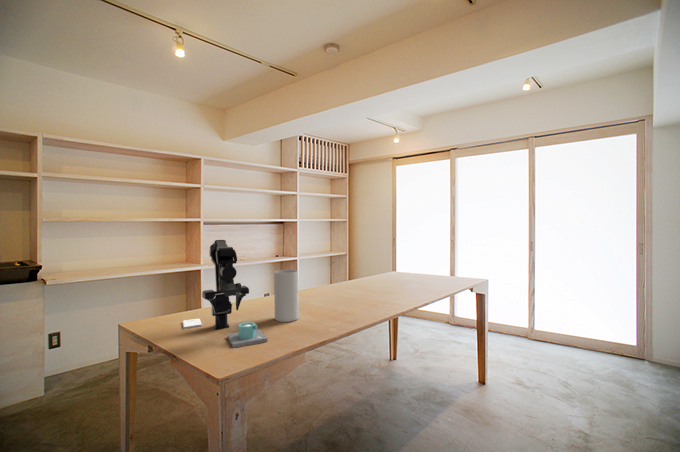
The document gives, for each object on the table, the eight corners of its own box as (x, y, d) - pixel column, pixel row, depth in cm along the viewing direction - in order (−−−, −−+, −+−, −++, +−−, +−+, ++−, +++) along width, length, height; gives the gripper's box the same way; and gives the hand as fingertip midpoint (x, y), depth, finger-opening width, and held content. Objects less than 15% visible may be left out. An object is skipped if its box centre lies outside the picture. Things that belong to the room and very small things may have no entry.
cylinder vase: (294, 323, 167) (293, 273, 167) (270, 322, 169) (270, 272, 169) (302, 316, 179) (301, 269, 179) (280, 315, 182) (279, 269, 181)
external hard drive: (183, 330, 160) (182, 323, 171) (202, 327, 164) (199, 321, 175) (183, 327, 160) (182, 320, 171) (202, 324, 164) (199, 318, 175)
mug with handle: (235, 338, 142) (235, 326, 142) (244, 332, 148) (244, 321, 148) (252, 339, 139) (251, 327, 139) (261, 334, 146) (260, 323, 146)
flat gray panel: (227, 337, 147) (227, 324, 147) (259, 332, 153) (259, 319, 153) (233, 347, 135) (232, 333, 134) (267, 341, 141) (267, 327, 141)
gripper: (208, 281, 133) (208, 320, 134) (253, 276, 144) (253, 312, 144) (201, 277, 143) (202, 313, 143) (244, 273, 153) (245, 306, 154)
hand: (226, 311), depth 146 cm, fingers open, 9 cm apart
